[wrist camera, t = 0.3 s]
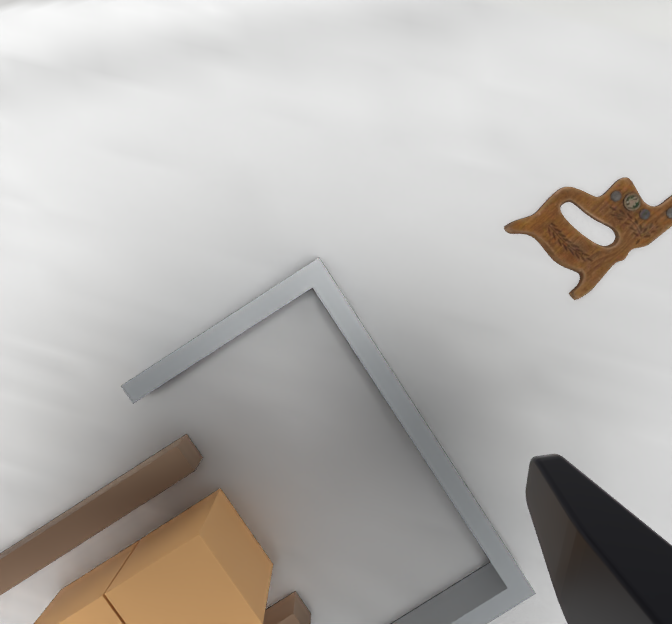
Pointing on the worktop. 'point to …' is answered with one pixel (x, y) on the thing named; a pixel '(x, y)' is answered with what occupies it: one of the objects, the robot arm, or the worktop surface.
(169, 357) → the tray
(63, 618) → the block
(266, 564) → the block
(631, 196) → the hand saw
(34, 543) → the slot guide
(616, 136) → the worktop surface
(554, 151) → the worktop surface
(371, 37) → the worktop surface
